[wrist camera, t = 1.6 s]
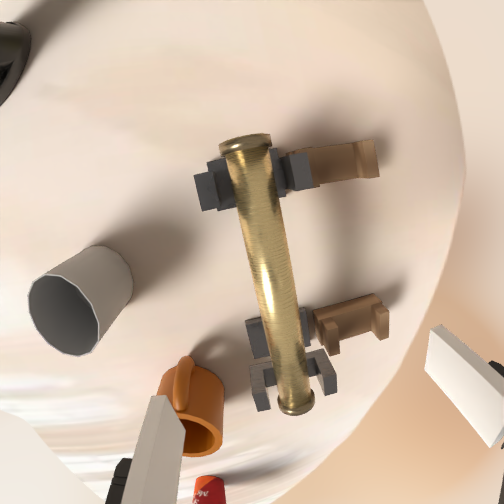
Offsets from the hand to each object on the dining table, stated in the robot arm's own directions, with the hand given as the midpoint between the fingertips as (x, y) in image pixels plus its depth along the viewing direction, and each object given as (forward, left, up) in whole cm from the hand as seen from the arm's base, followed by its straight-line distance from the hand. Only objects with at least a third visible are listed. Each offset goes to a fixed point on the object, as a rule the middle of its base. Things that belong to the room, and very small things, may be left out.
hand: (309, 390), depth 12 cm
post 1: (-9, 0, -20) cm, 22 cm away
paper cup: (+43, -19, -20) cm, 51 cm away
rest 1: (-9, +8, -20) cm, 24 cm away
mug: (+14, -12, -20) cm, 27 cm away
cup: (-2, -19, -20) cm, 28 cm away
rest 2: (+9, +8, -20) cm, 23 cm away
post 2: (+9, 0, -20) cm, 22 cm away
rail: (0, 0, -12) cm, 12 cm away
